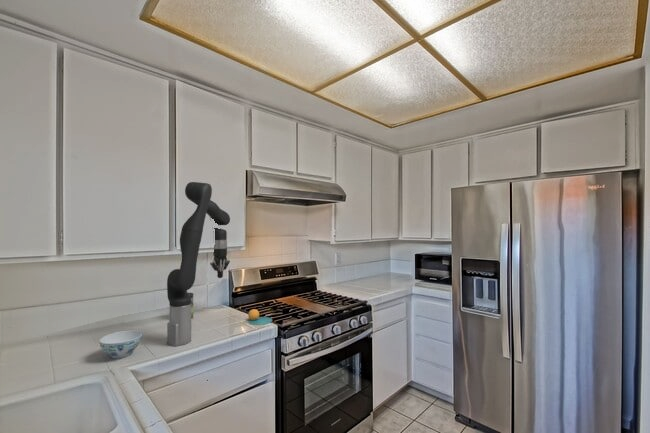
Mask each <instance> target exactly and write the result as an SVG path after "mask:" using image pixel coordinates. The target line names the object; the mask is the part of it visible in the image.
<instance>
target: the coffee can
mask: <svg viewBox="0 0 650 433" xmlns="http://www.w3.org/2000/svg"><path fill="white" fill-rule="evenodd" d="M188 294H189V296H190V297H191V319H192V320H193V319H194V296H195V294H194V293H193V292H188Z"/></svg>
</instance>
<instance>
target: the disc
mask: <svg viewBox="0 0 650 433" xmlns="http://www.w3.org/2000/svg"><path fill="white" fill-rule="evenodd" d="M272 322H273V319H272V317H267V316H259V317H258V319H256V320H251V319H249V320H248V323H249V324H250V325H254V326H259V325H260V326H261V325H267V324H268V325H269V324H270V323H272Z"/></svg>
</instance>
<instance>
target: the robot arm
mask: <svg viewBox="0 0 650 433" xmlns="http://www.w3.org/2000/svg"><path fill="white" fill-rule="evenodd" d="M211 185H212V184H210V183H207V182H200V181H199V182H198V181H190V182H188V183H187V184H186V185H185V188H184V193H185V197H186V198H187V199H188V200H189V201H191V202H192V203H193V204H195V205H197V206H196V209H195V210H194V212H193V213H192V215H190V216H189V217H188V219H186V221H185V222H184V223H183V225H182V226H181V231H180V236H179V246H180V252H181V263H180V266H179V268H176V269H173V270H171V271H170V272H169V274H168V276H167V279H166V292H167V294H166V296H167V299H168V302H169V313H168V314H169V318H168V319H169V322H167V326H166V327H167V329H166V330H167V331H166V333H167V337H166V342H167V345H171V346H173V347H178V346H183V345H187V344H189V343H190V342H192V320H191V297H190V296H189V294H188V293H189V292H188V291H189V290H190V289H191V288H193V286H194V284H195V282H196V281H195V280H196V272H197V263H198V262H197V261H198V256H199V251H200V246H201V242H202V237H203V231H204V226H205V222H206V217H207V216H206V215H208V216H209V218H210V219H211V218H212V219H214V221H215V223H217V224H218V226H227V225H228V224H229V223H230V222H231V217H230V215H229V213H228V212H226V211H225V210H223V209H221V208H220V207H219V205H218V204H217V203H216V202H214V201H213V200H211V199H212V194H213V189H212V186H211ZM214 229H215V245H214V252H213V253H212V254H213V255H212V256H213V260H212V262H210V263H209V265H210V266H211V268H212V269H213V271H216V273H217V275H216V276H217V278H218V279H222V278H223V277H224V271H225V270H227V268H228V266H229V264H230V263H231V261H230V260H229V259H228V258H227V256H228V241H227V239H228V235H227V234H228V232H227V230H226V229H224V228H223V229H222V228H220V229H218V228H214Z"/></svg>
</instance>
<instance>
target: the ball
mask: <svg viewBox="0 0 650 433" xmlns="http://www.w3.org/2000/svg"><path fill="white" fill-rule="evenodd" d="M247 315H248V319H249V320H250V319H251V320H256V319H258V317H260V312H259V310H257V309H256V308H255V309H254V308H253V309H250V311H249V312H248V314H247Z"/></svg>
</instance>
